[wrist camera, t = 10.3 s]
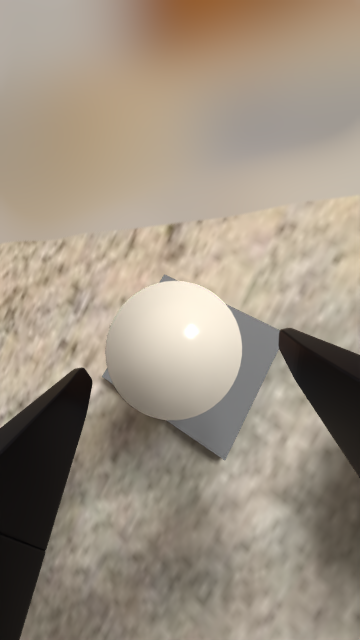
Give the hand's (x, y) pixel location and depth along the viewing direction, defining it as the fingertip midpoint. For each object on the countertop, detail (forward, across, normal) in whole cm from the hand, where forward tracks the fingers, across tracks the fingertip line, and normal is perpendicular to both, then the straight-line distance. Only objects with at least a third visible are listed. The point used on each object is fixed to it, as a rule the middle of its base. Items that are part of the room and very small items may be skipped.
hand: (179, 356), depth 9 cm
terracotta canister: (+6, 0, +5) cm, 8 cm away
